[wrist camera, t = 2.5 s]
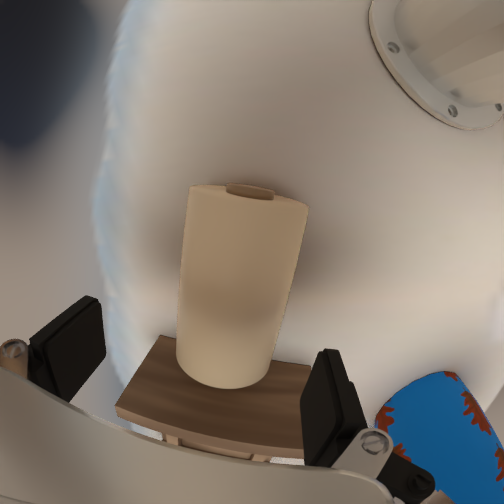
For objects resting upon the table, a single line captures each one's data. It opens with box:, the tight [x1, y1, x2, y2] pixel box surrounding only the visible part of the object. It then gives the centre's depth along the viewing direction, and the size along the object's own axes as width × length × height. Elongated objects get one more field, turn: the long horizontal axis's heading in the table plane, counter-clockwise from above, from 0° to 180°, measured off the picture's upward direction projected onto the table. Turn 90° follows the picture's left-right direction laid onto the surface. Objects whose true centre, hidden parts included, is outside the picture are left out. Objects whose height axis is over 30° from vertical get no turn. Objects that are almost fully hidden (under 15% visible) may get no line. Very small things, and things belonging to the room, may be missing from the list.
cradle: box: [115, 335, 311, 463], centre depth 19 cm, size 16×12×8 cm
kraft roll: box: [176, 183, 309, 389], centre depth 15 cm, size 11×6×6 cm, turn 170°
